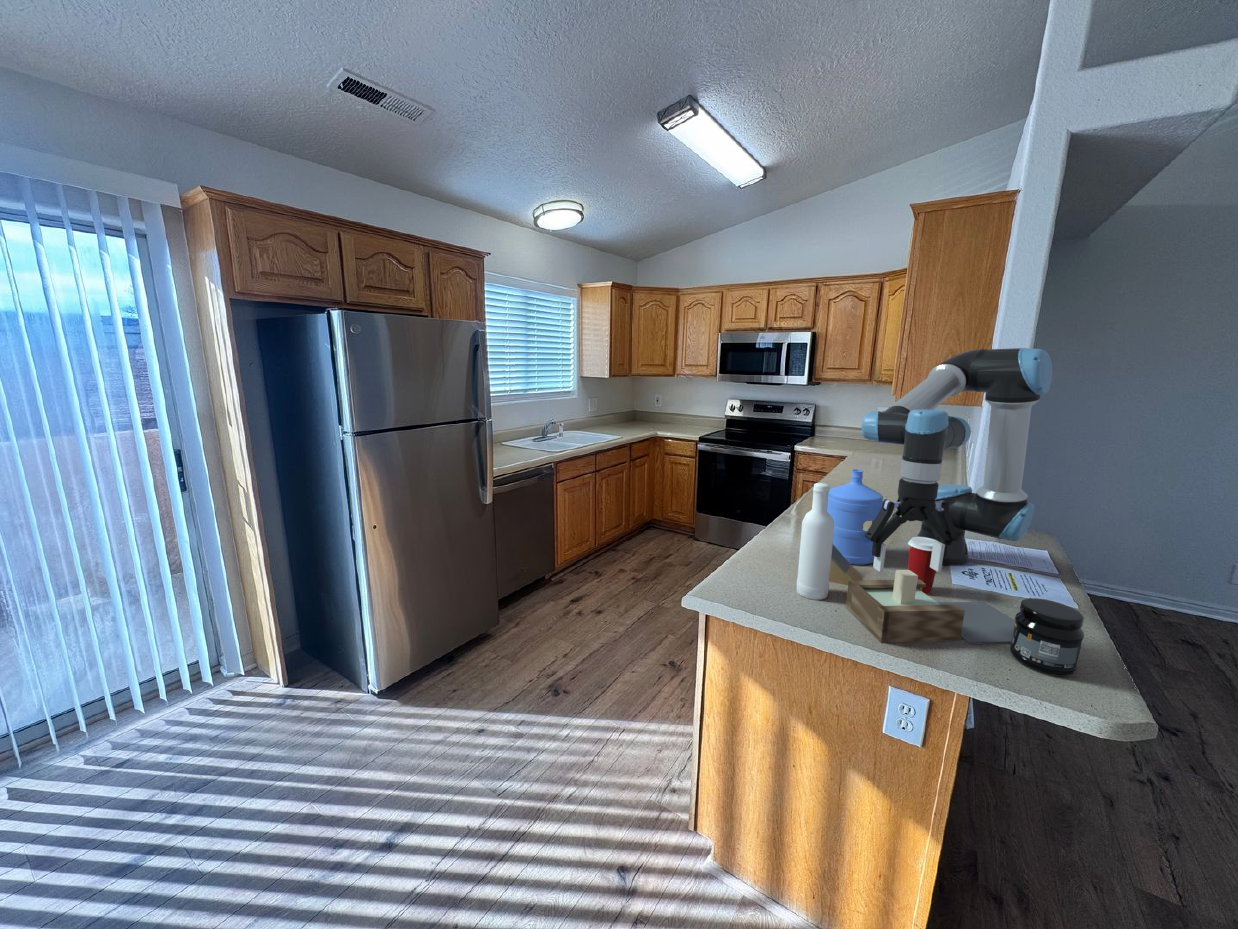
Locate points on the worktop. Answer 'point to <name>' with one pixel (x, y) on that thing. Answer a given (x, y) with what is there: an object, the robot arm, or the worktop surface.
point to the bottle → (816, 547)
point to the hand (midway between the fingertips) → (906, 569)
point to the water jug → (853, 518)
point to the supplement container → (1047, 636)
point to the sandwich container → (842, 569)
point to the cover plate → (890, 601)
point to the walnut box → (903, 616)
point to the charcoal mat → (984, 623)
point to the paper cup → (922, 561)
